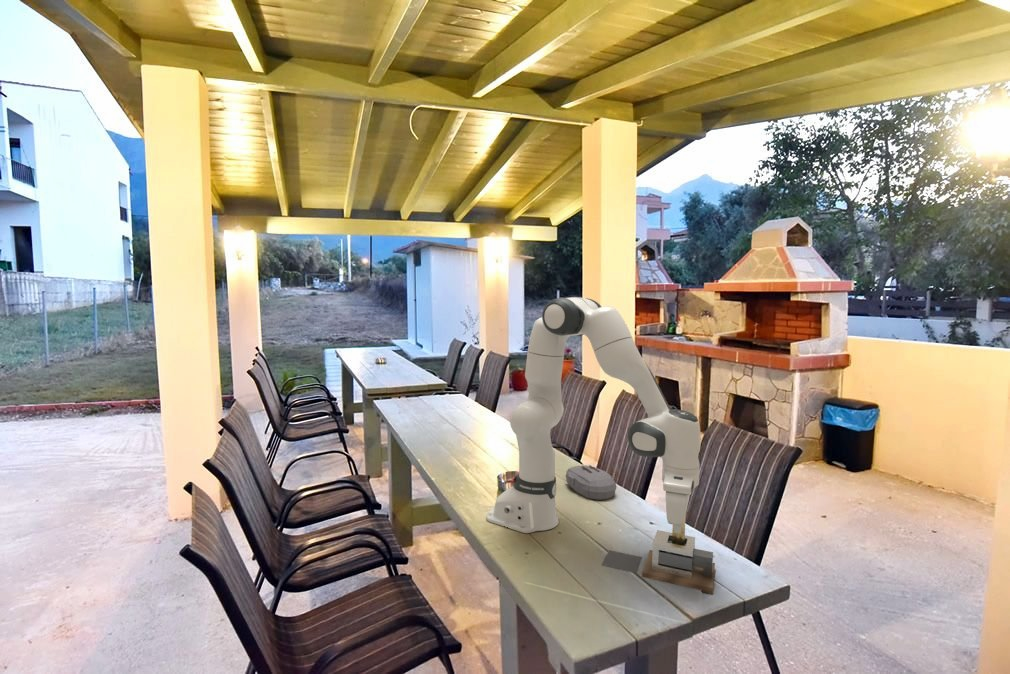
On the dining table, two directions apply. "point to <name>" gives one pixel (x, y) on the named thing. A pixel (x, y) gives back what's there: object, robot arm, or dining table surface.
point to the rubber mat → (622, 561)
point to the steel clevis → (679, 556)
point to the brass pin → (679, 536)
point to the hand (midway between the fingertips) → (678, 528)
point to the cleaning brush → (591, 482)
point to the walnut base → (681, 577)
